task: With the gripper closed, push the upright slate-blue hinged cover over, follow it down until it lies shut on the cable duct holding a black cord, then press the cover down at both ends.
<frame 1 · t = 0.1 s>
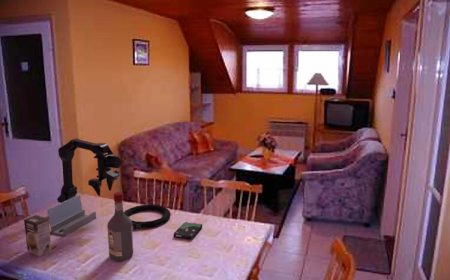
hand: (104, 193, 196), 15 cm above the table, tool pointing down, fingers open, 9 cm apart
coffee box: (39, 251, 162), on the table
liquor: (121, 256, 159), on the table
duct: (74, 225, 189), on the table
cable lock: (145, 220, 198), on the table
cover: (65, 209, 189), point 8 cm above the table, hinge at 95.0°
disk drive: (188, 233, 182), on the table
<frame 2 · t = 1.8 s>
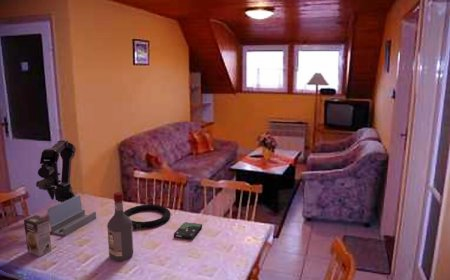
hand: (54, 199, 190), 13 cm above the table, tool pointing down, fingers open, 3 cm apart
nothing on the table moved.
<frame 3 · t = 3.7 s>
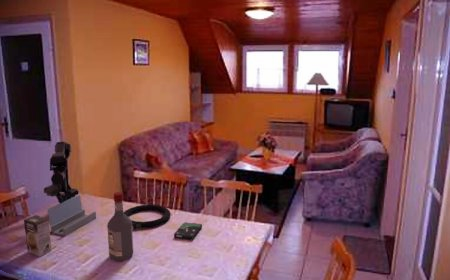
hand: (62, 206, 189), 10 cm above the table, tool pointing down, fingers closed
cover: (65, 209, 189), point 8 cm above the table, hinge at 94.4°, touching gripper
everything else where it was.
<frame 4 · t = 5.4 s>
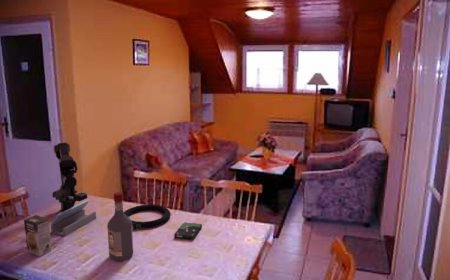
hand: (70, 210, 187), 9 cm above the table, tool pointing down, fingers closed, pressing on cover
cover: (70, 211, 188), point 8 cm above the table, hinge at 49.2°, touching gripper
everything else where it was.
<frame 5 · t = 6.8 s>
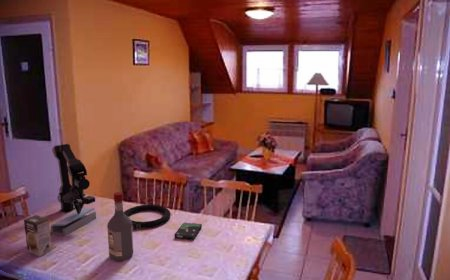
hand: (78, 213, 190), 6 cm above the table, tool pointing down, fingers closed, pressing on cover
cover: (73, 216, 188), point 5 cm above the table, hinge at 11.1°, touching duct, gripper
everything else where it was.
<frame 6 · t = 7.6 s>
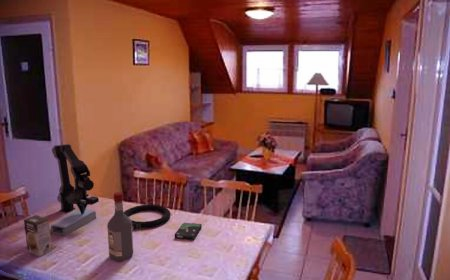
hand: (82, 213, 192), 5 cm above the table, tool pointing down, fingers closed, pressing on cover
cover: (74, 217, 188), point 5 cm above the table, hinge at 1.7°, touching gripper
everything else where it was.
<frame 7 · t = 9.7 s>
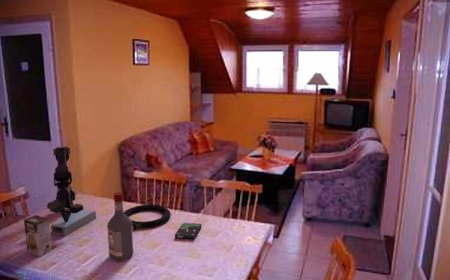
hand: (66, 222, 182), 5 cm above the table, tool pointing down, fingers closed, pressing on cover
cover: (74, 217, 188), point 4 cm above the table, hinge at 1.0°, touching duct, gripper
everything else where it was.
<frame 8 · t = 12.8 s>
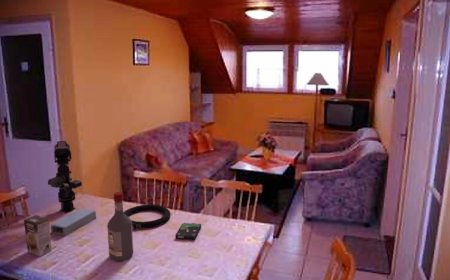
hand: (66, 197, 194), 13 cm above the table, tool pointing down, fingers closed
cover: (74, 218, 188), point 4 cm above the table, hinge at 0.6°
everything else where it was.
at the end: cover at +1° (first picture: +95°) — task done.
